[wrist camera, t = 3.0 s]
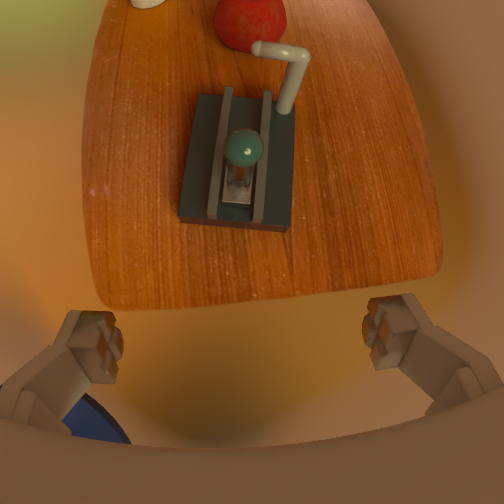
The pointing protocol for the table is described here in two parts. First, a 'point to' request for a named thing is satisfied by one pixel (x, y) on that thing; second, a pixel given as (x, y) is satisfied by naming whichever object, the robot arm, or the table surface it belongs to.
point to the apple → (249, 22)
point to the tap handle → (240, 166)
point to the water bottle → (146, 3)
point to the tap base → (266, 169)
